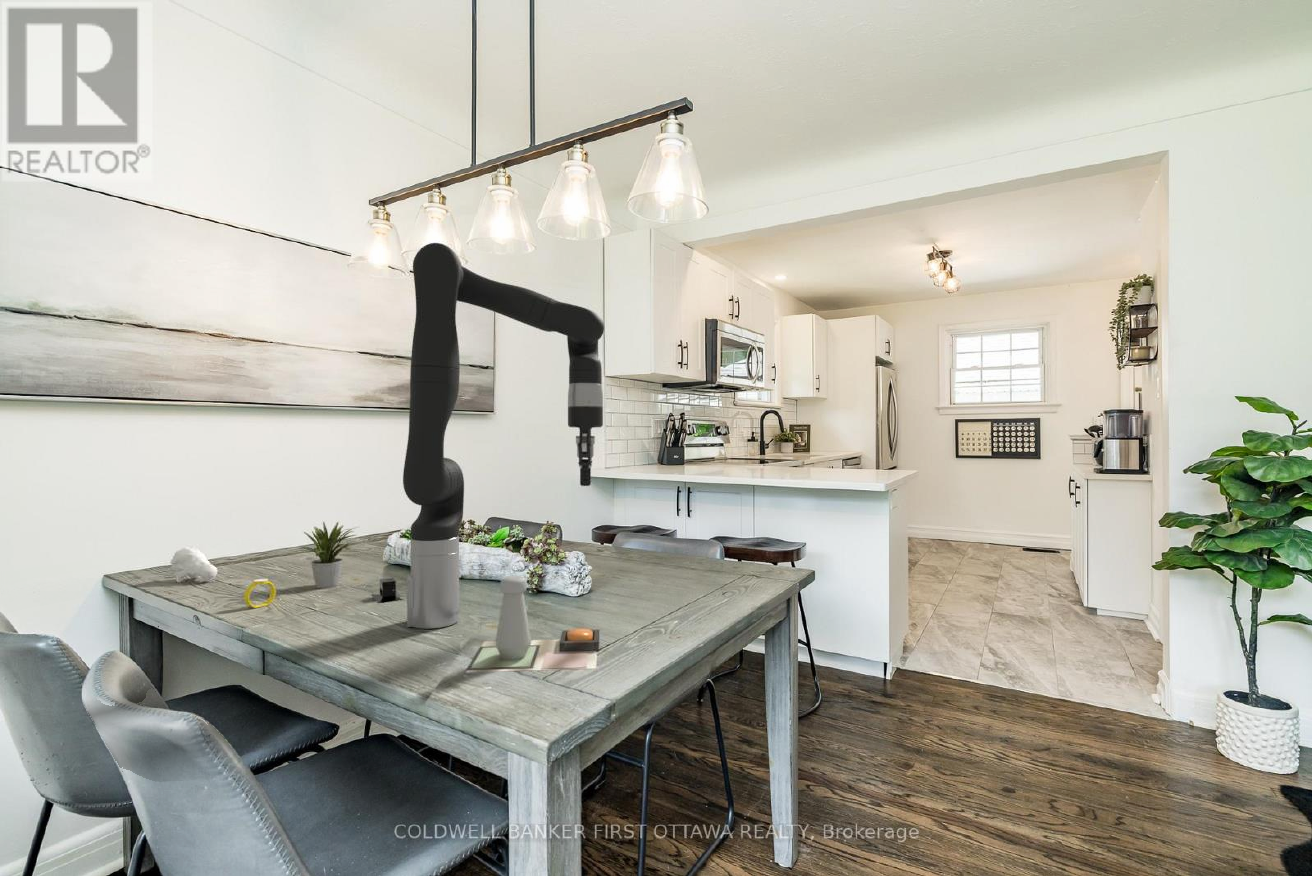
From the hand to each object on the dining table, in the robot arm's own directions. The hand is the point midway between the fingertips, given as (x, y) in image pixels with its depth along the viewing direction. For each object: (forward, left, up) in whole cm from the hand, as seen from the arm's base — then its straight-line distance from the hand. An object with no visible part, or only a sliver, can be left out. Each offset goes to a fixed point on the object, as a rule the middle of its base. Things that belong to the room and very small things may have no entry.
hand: (585, 485), depth 130 cm
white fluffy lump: (-102, +35, -27) cm, 111 cm away
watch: (-72, +9, -27) cm, 78 cm away
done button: (0, -25, -26) cm, 36 cm away
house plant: (-65, +26, -27) cm, 75 cm away
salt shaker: (-11, -30, -26) cm, 41 cm away
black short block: (-47, +15, -28) cm, 56 cm away
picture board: (-7, -29, -27) cm, 40 cm away
